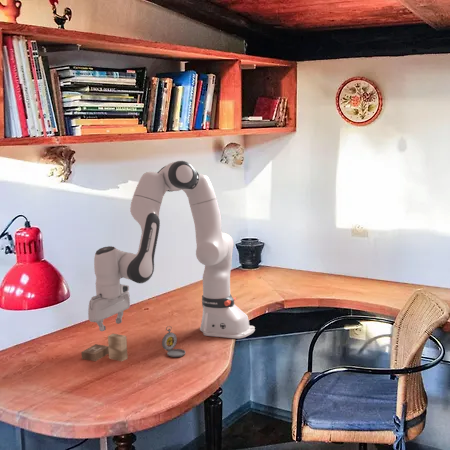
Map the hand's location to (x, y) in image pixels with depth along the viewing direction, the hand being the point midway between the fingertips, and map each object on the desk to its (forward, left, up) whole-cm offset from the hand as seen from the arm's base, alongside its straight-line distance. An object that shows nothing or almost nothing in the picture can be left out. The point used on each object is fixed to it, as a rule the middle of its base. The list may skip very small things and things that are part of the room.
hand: (110, 326), depth 231 cm
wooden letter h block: (+1, +4, -8) cm, 9 cm away
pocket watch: (-24, -7, -9) cm, 26 cm away
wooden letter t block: (-8, +6, -9) cm, 14 cm away
